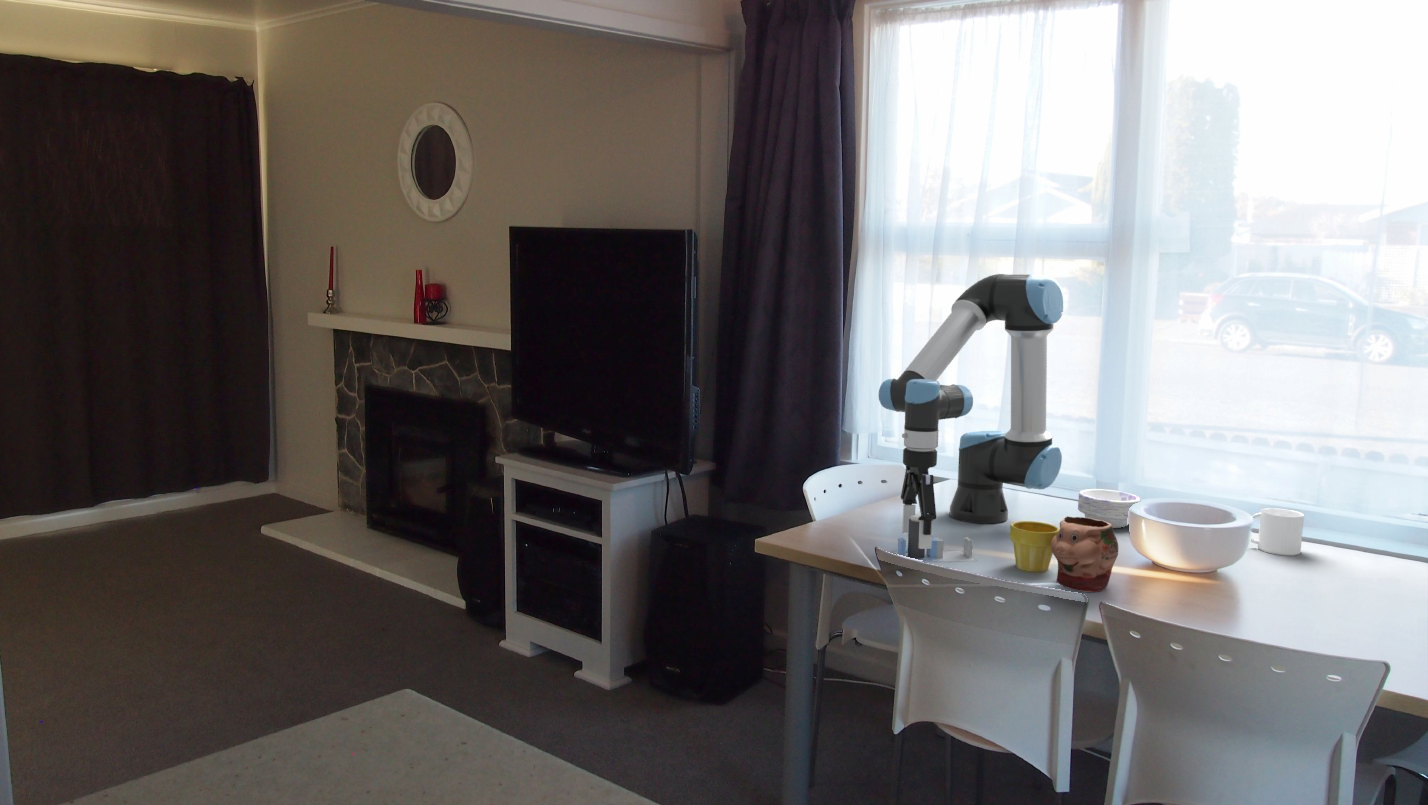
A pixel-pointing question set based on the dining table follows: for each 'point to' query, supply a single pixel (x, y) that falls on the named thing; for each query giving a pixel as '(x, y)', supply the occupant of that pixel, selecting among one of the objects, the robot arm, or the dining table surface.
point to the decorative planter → (1084, 553)
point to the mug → (1280, 531)
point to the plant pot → (1032, 544)
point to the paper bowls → (1106, 505)
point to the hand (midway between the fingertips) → (916, 540)
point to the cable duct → (941, 551)
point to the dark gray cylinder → (914, 539)
